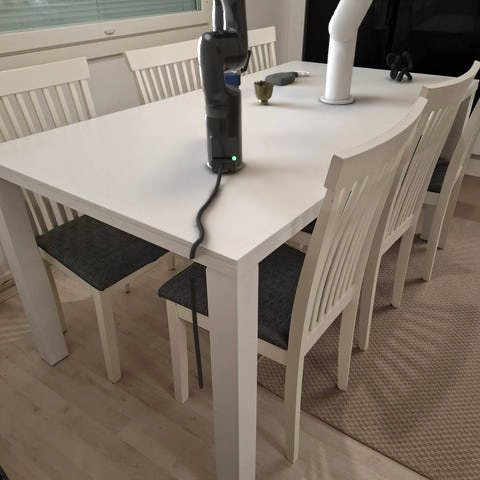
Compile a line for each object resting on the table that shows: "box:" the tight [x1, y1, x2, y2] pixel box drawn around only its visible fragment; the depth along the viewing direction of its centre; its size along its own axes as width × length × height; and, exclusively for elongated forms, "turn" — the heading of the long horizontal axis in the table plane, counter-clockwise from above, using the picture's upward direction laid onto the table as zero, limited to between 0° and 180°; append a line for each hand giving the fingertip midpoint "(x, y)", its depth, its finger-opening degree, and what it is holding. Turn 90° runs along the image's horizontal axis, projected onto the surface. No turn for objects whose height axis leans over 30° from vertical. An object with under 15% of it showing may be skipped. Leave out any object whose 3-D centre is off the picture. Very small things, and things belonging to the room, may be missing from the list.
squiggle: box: [385, 51, 414, 83], centre depth 198 cm, size 11×10×15 cm
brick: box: [224, 71, 238, 87], centre depth 129 cm, size 5×4×4 cm
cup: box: [253, 79, 275, 106], centre depth 169 cm, size 8×7×8 cm
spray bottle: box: [264, 70, 310, 86], centre depth 204 cm, size 3×11×25 cm
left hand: (228, 88), depth 130 cm, fingers closed on brick, 4 cm apart
